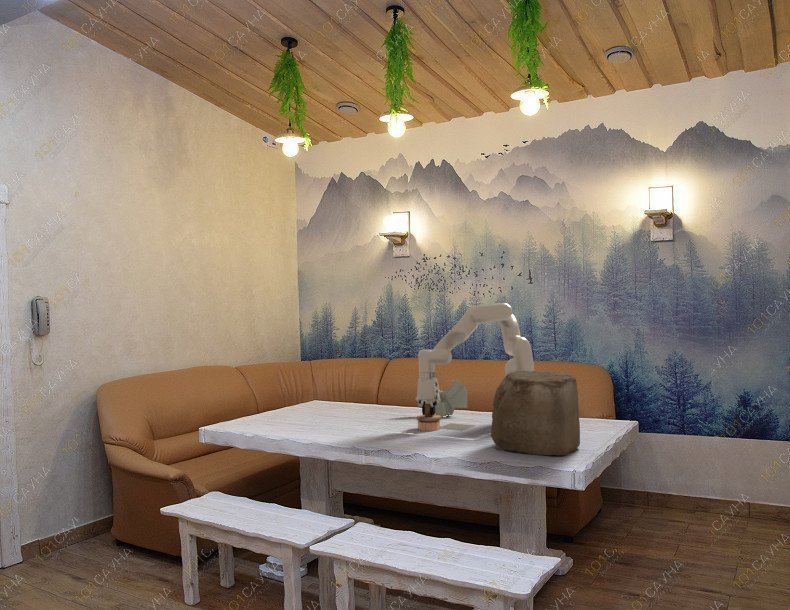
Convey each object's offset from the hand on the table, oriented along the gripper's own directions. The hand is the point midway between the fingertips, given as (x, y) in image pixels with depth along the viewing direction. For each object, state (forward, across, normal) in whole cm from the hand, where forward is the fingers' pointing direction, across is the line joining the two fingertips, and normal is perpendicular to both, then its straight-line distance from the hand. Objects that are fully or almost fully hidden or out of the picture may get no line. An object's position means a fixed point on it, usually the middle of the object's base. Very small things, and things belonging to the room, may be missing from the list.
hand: (428, 414), depth 300 cm
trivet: (+8, -9, -10) cm, 15 cm away
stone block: (+8, -58, +15) cm, 60 cm away
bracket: (+8, +14, -36) cm, 39 cm away
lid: (+2, 0, 0) cm, 2 cm away
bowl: (+8, 0, 0) cm, 8 cm away
